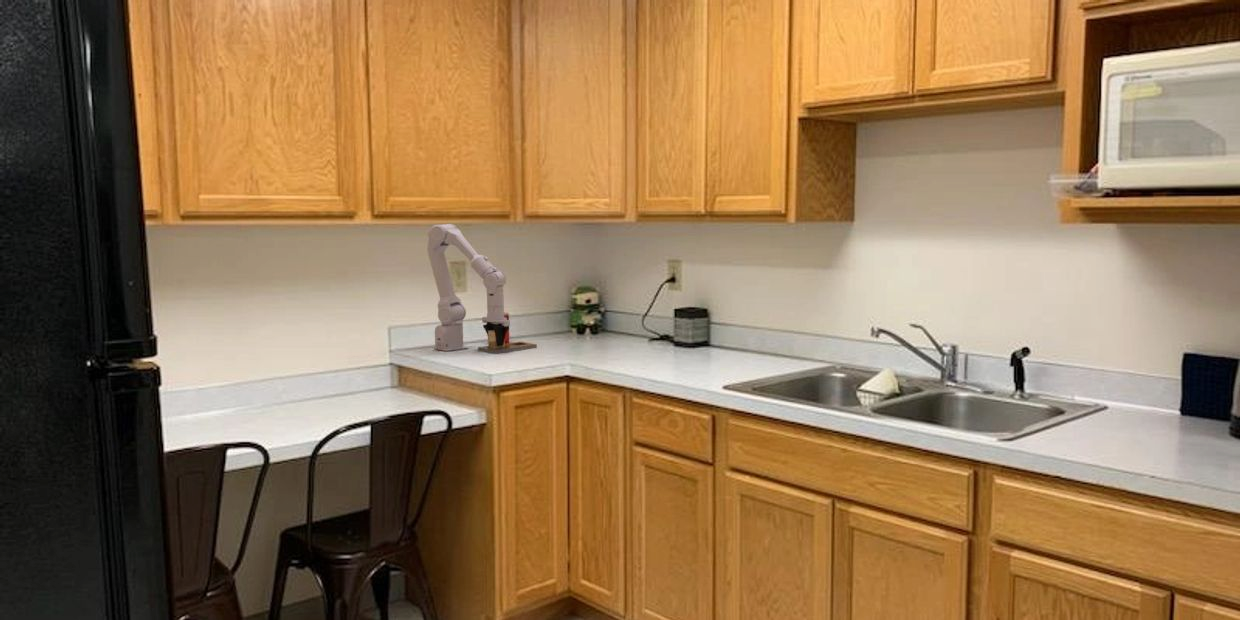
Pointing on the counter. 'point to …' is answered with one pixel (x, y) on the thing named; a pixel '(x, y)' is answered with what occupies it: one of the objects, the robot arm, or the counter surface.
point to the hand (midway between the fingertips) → (496, 344)
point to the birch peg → (493, 340)
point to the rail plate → (508, 347)
